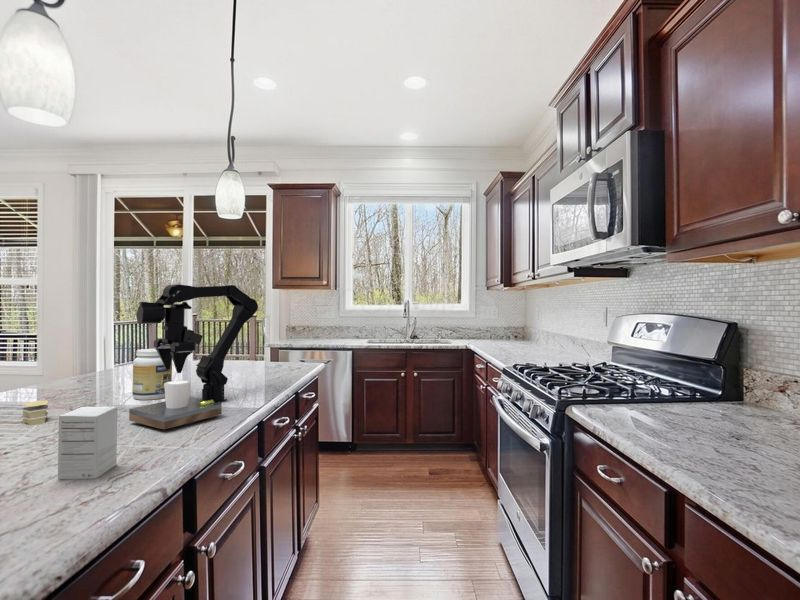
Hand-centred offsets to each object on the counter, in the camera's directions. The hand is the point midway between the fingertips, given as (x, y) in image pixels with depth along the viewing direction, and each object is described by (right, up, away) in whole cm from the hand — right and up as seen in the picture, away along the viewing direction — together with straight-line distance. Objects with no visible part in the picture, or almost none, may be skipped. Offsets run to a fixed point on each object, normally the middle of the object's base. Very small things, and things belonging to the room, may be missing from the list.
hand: (173, 371), depth 138 cm
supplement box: (+10, -12, -51) cm, 53 cm away
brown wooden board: (+8, -12, -14) cm, 20 cm away
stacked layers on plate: (-30, -12, -17) cm, 37 cm away
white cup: (+8, -8, -14) cm, 18 cm away
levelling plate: (+8, -9, -14) cm, 18 cm away
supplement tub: (-16, -12, +15) cm, 25 cm away
